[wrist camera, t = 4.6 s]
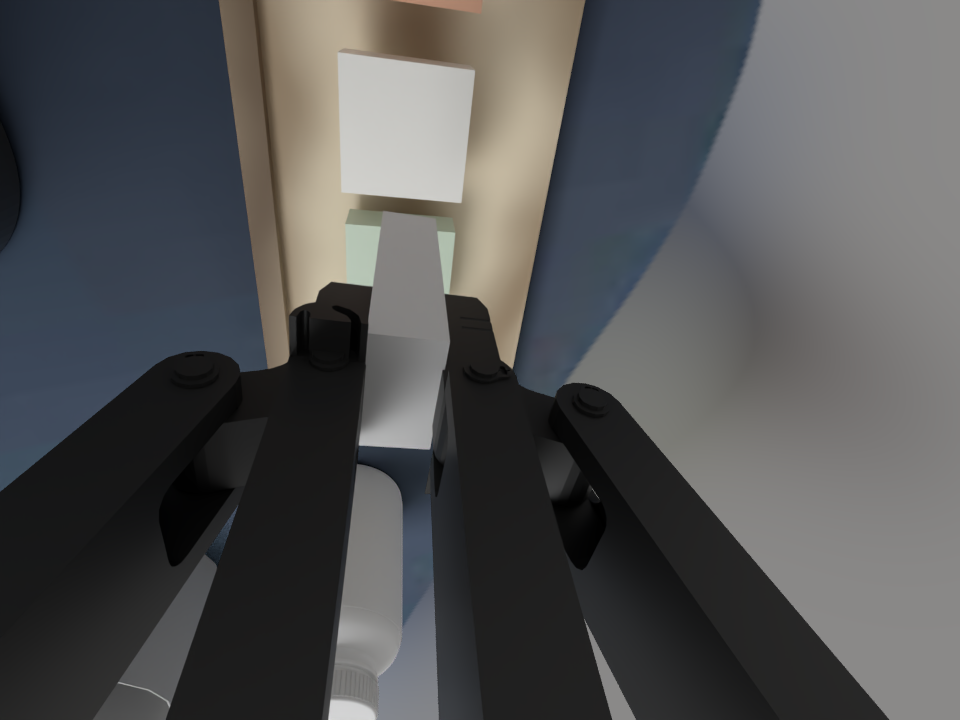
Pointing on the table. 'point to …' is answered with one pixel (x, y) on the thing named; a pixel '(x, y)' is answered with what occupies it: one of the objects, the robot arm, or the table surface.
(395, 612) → the pill bottle
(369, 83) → the white key
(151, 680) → the cup
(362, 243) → the key sage
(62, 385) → the table surface
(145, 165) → the table surface
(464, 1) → the key terracotta
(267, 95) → the keypad board
